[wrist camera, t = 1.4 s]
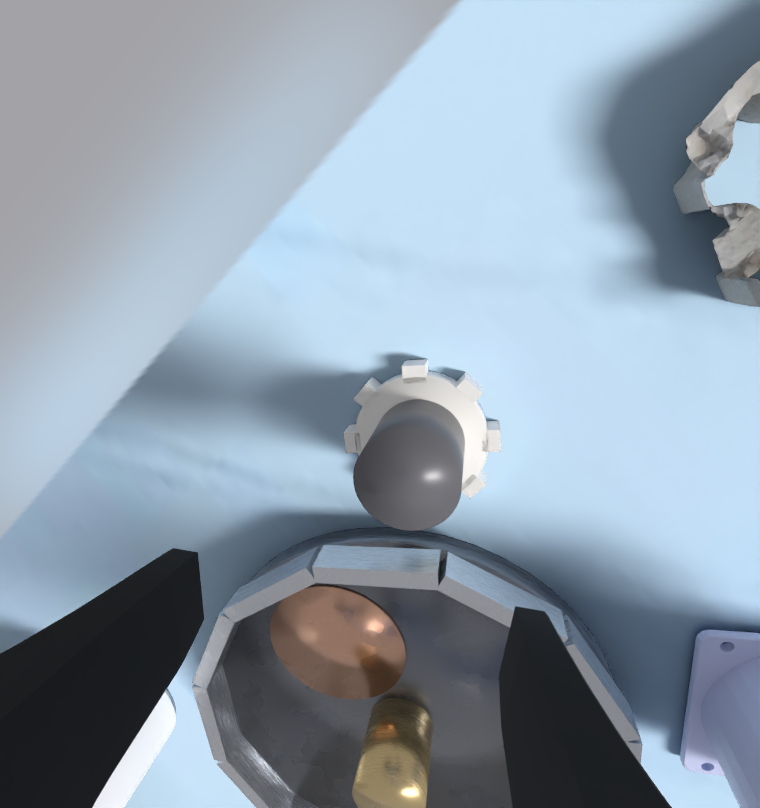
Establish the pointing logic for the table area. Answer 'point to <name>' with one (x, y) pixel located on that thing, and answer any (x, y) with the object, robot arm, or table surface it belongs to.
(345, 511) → the table surface
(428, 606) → the bowl
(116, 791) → the can
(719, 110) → the egg carton
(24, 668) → the robot arm
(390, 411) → the gear
